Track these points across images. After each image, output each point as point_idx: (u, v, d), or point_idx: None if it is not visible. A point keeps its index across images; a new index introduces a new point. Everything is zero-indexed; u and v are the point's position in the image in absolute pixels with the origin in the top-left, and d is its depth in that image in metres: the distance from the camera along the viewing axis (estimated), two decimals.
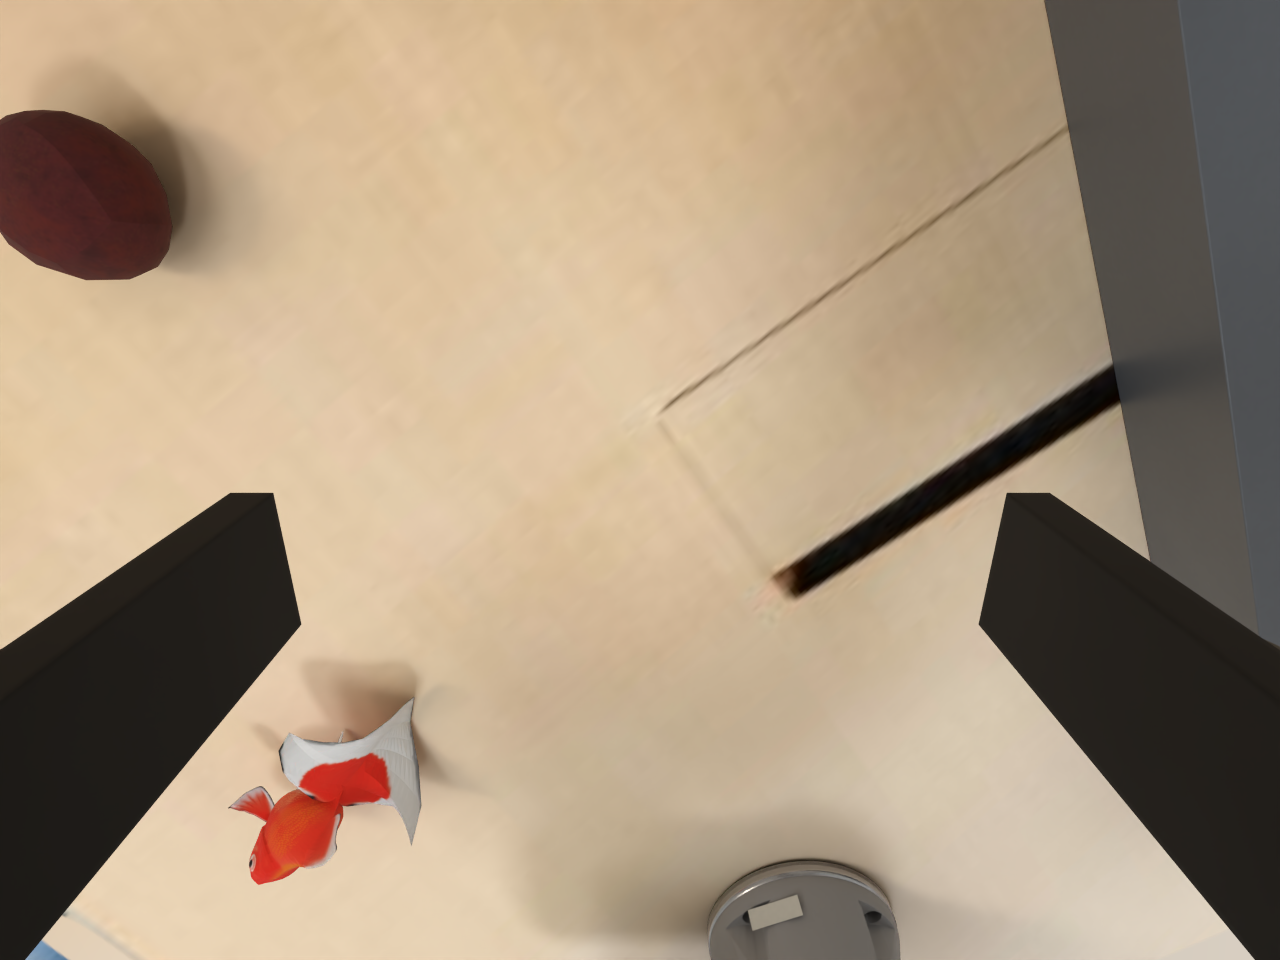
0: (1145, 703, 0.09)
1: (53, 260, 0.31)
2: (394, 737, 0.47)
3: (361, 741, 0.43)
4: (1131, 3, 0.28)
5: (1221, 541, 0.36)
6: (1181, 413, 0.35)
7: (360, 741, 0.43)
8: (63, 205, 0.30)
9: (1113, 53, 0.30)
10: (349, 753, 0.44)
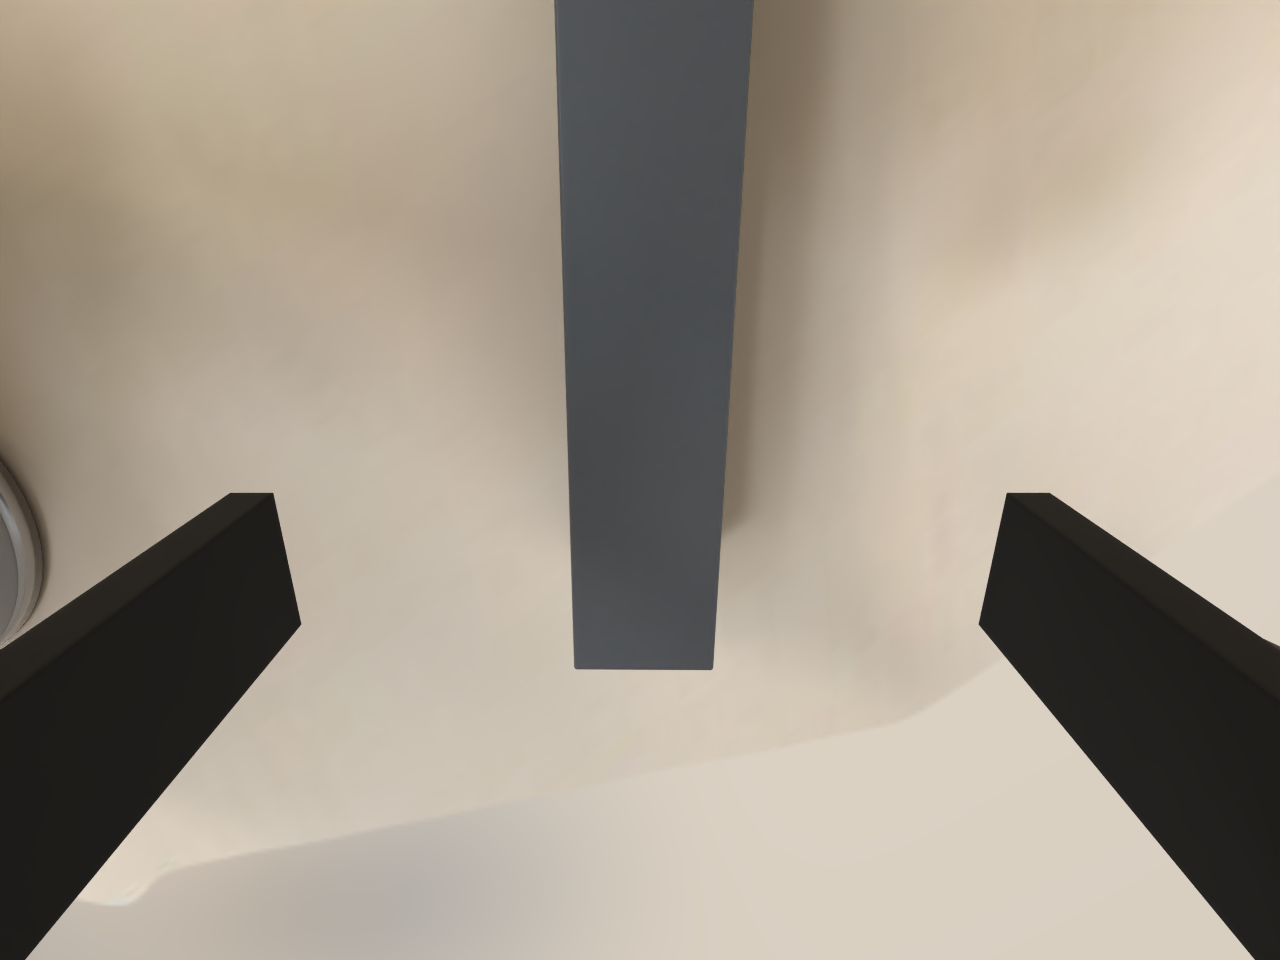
0: (1146, 703, 0.09)
1: None
2: None
3: None
4: None
5: None
6: None
7: None
8: None
9: None
10: None
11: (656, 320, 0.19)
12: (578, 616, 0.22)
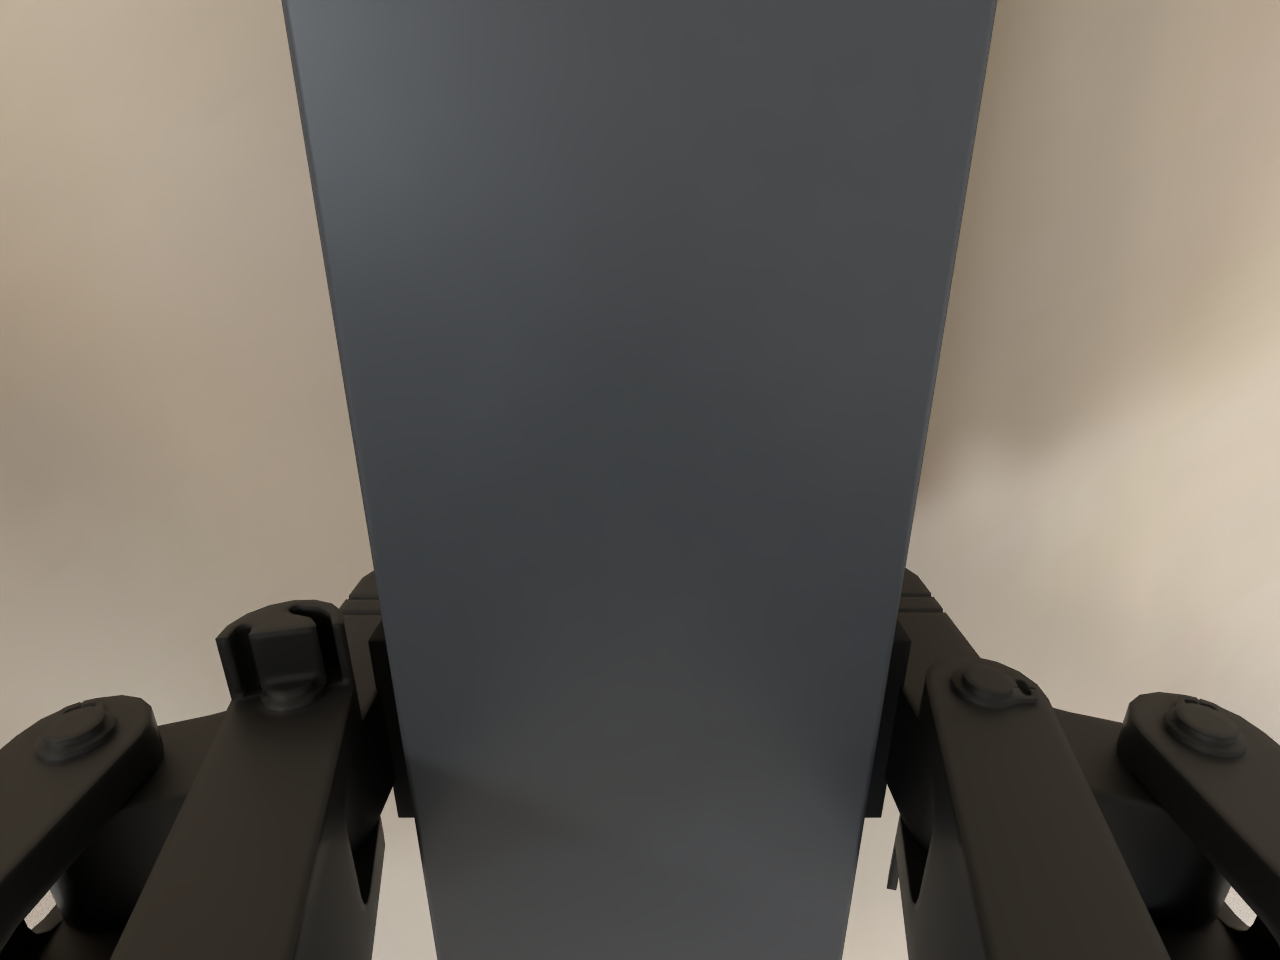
0: None
1: None
2: None
3: None
4: None
5: None
6: None
7: None
8: None
9: None
10: None
11: (661, 478, 0.06)
12: None
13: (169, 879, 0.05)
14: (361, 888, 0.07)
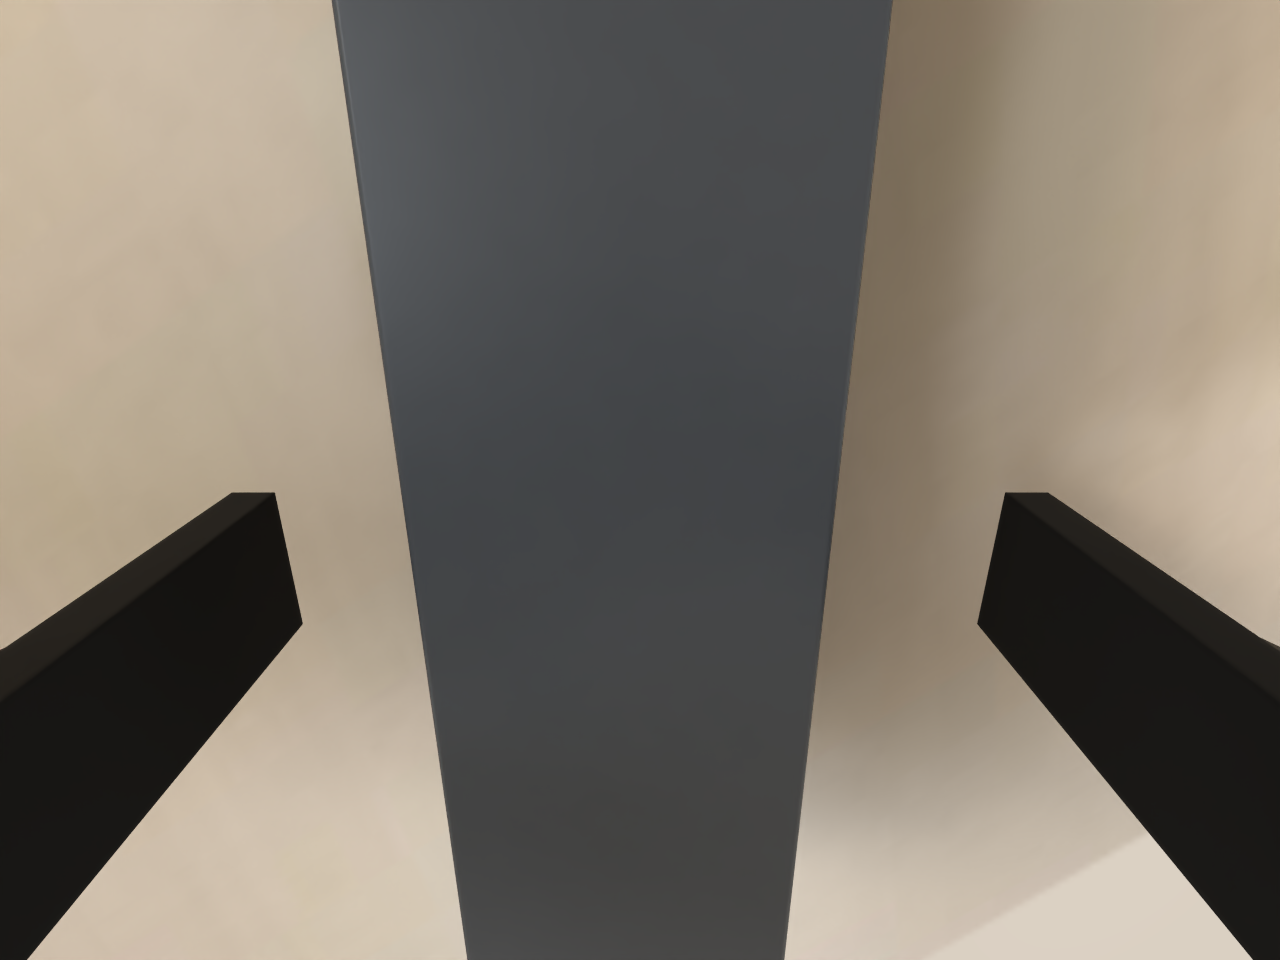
0: (1144, 703, 0.09)
1: None
2: None
3: None
4: None
5: None
6: None
7: None
8: None
9: None
10: None
11: (635, 408, 0.07)
12: None
13: None
14: None
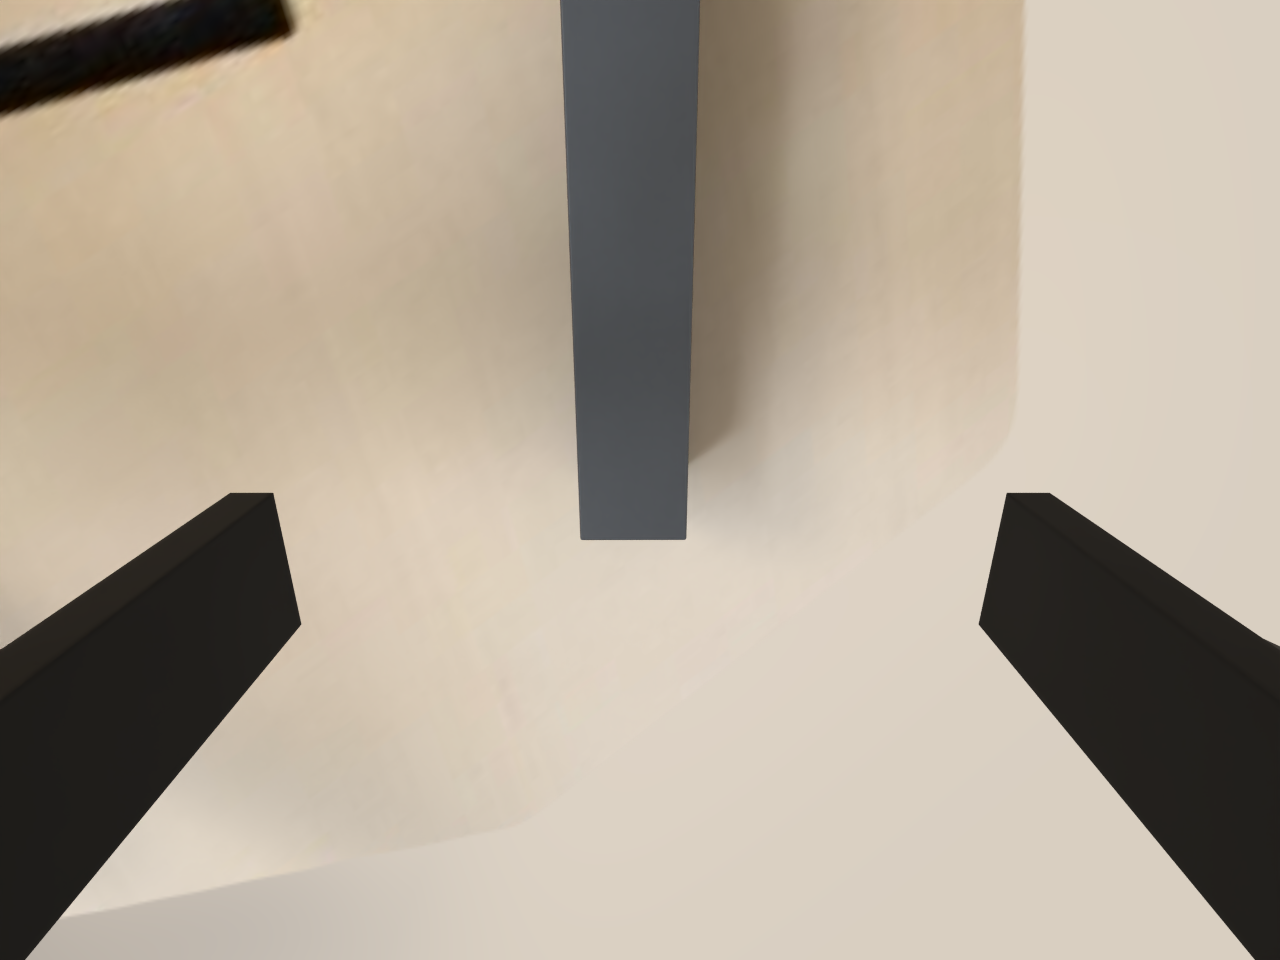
0: (1145, 704, 0.09)
1: None
2: None
3: None
4: None
5: None
6: None
7: None
8: None
9: None
10: None
11: (636, 265, 0.26)
12: (582, 496, 0.30)
13: None
14: None
